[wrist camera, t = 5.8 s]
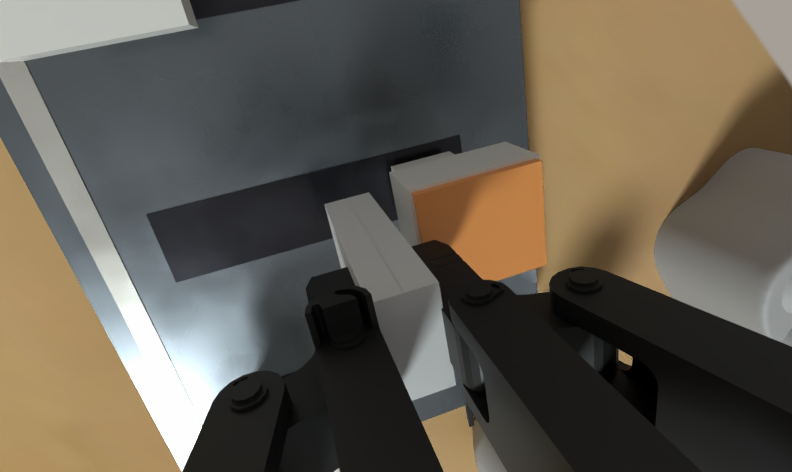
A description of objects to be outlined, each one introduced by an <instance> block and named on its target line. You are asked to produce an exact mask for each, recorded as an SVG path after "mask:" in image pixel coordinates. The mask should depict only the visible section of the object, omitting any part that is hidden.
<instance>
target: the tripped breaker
mask: <svg viewBox="0 0 792 472" xmlns="http://www.w3.org/2000/svg"><path fill="white" fill-rule="evenodd" d="M391 170H392V171H391V172H389V175H390V180H391V185H392V190H393V196H394V201H395V206H396V211H397V216H398V221H399V226H400V231H401V234H402V236H403V237H404V238H405V239H406V241H407V242H408V243H409V245H410V246H411V247H412V246H415V245H418V244H422V243H425V242H429V241H432V240H437V241H440V242H442V243H445V244H448V245H449V246H450V247H451V248H452V249H453V250H454V251H455V252H456V253H457V254H458V255H459V256H460V257H461V258H462V259H463V261H465V262H466V263H467V264H468V265H469V266H470V267H471V268H472V269H473V270H474V271H475V272H476V273H477V274H478V275H479V276H480V277H481V278H482V279H483V280H494V281H498V280H501V279H505V278H508V277H511V276H514V275H517V274H520V273H523V272H526V271H529V270H533V269H536V268H539V267H542V266H545V265H547V255H546V236H545V216H544V196H543V177H542V161H541V160H539V154H537V153H534V152H532V151H529V150H526V149H524V148H521V147H518V146H516V145H513V144H511V143H508V142H502V143H498V144H494V145H490V146H486V147H483V148H479V149H475V150H471V151H467V152H464V153H460V154H456V155H455V154H453V153H451V152H449V151H448V152H444V153H441V154H437V155H433V156H429V157H425V158H421V159H418V160H414V161H410V162H406V163H402V164H398V165H395V166H391Z"/></svg>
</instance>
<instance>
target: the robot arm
mask: <svg viewBox="0 0 792 472" xmlns="http://www.w3.org/2000/svg"><path fill="white" fill-rule="evenodd" d="M324 205H325V209H326V213H327V217H328V220H329V224H330V228H331V232H332V236H333V239H334V243H335V247H336V251H337V254H338V258H339V262H340V266H341V269H338V270H335V271H331V272H328V273H324V274H321V275H318V276H314V277H311V279H310V281H309V283H308V285H307V287H306V293H307V298H308V303H309V304H308V305H307V306H306V308H305V314H304V315H305V318H306V321H307V324H308V327H309V330H310V334H311V337H312V340H313V343H314V346H315V352H314V354H313V356H312V357H311V358H310V360H309V361H308V362H307V363H306V364H305V365H304V366H303V367H301V368H300V369H298V370H297V371H295V372H294V373H292V374H291V375H289V376H287V377H285V378H284V379H283V378H282V377H281V376H280V375H279V374H278V373H275V372H272V371H255V372H252V373H249V374H245V375H243V376H241V377H239V378H237V379H235V380H233V381H232V382H230V383H229V384H228V385H226V386H225V387H224V388H223V389H222V390H221V391H220V392H219V393H218V395H217V396H216V398H215V399H214V401H213V402H212V404H211V407H210V409H209V411H208V413H207V416H206V418H205V420H204V423H203V425H202V427H201V430H200V432H199V434H198V436H197V439H196V441H195V443H194V446H193V448H192V450H191V453H190V455H189V457H188V459H187V462H186V464H185V466H184V469H183V471H182V472H334V471H335V470H337V469H338V468H340V472H443V470H442V467H441V465H440V463H439V461H438V458H437V456H436V454H435V452H434V449H433V447H432V445H431V443H430V440H429V438H428V436H427V434H426V431H425V429H424V427H423V425H422V423H421V420H420V418H419V416H418V414H417V411H416V409H415V407H414V405H413V402H412V401H413V400H416V399H419V398H421V397H424V396H427V395H430V394H433V393H436V392H438V391H441V390H444V389H447V388H450V387H453V386H455V385H456V382H455V376H454V370H453V367H454V369H455V371H456V372H457V374H458V376H459V377H460V379H461V382H462V388H463V395H464V401H465V407H466V413H467V419H468V423H469V426H470V427H471V426H474V419H473V414H474V416H475V418H476V420H477V421H478V423H479V425H480V426H481V428H482V430H483V431H484V433H485V435H486V437H487V438H488V440H489V442H490V443H491V445H492V447H493V448H494V450H495V452H496V454H497V455H498V457H499V459H500V460H501V462H502V464H503V465H504V467H505V469H506V471H507V472H792V347H791V346H789V345H787V344H784V343H782V342H779V341H777V340H774V339H772V338H769V337H767V336H764V335H762V334H759V333H757V332H755V331H752V330H750V329H747V328H745V327H742V326H740V325H737V324H735V323H732V322H730V321H728V320H725V319H723V318H720V317H718V316H715V315H713V314H710V313H708V312H705V311H703V310H700V309H698V308H696V307H693V306H691V305H688V304H686V303H683V302H681V301H678V300H676V299H673V298H671V297H668V296H666V295H664V294H661V293H659V292H656V291H654V290H651V289H649V288H646V287H644V286H641V285H639V284H637V283H634V282H632V281H629V280H627V279H624V278H622V277H619V276H617V275H614V274H612V273H609V272H607V271H604V270H600V269H597V268H589V267H576V268H575V267H574V268H569V269H566V270H563V271H560V272H558V273H557V274H555V275H554V276H553V277H552V278H551V281H550V283H549V286H550V292H545V293H536V294H526V295H516V294H515V293H514V292H513V291H512V290H511V289H510V288H509V287H508V286H506V285H504V284H503V283H501V282H498V281H494V280H483V279H482V278H481V277H480V276H479V275H478V274H477V273H476V272H475V271H474V270H473V269H472V268H471V267H470V266H469V265H468V264H467V263H466V262H465V261H463V259H462V258H461V257H460V256H459V255H458V254H457V253H456V252H455V251H454V250H453V249H452V248H451V247H450V246H449V245H448V244H445V243H442V242H440V241H437V240H432V241H429V242H425V243H422V244H418V245H415V246H412V247H411V246H410V245H409V243H408V242H407V241H406V239H405V238H404V237H403V236H402V234H401V233H400V232H399V230H398V229H397V228H396V227H395V225H394V224H393V223H392V221H391V220H390V219H389V218H388V216H387V215H386V214H385V212H384V211H383V210H382V209H381V207H380V206H379V205H378V204H377V202H376V201H375V200H374V198H373V197H372V196H371V195H370V193H369V192H368V193H364V194H361V195H357V196H353V197H349V198H346V199H342V200H338V201H334V202H331V203H327V204H324ZM618 349H620V350H621V351H623V352H625V353H627V354H629V355H630V356H632V357H633V362H632V366H629V365H627V364H624V363H623V362H621V361H619V360H618Z"/></svg>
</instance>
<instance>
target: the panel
mask: <svg viewBox="0 0 792 472" xmlns="http://www.w3.org/2000/svg"><path fill="white" fill-rule="evenodd" d="M189 1H190V4H191V7H192V10H193V13H194V16H195V19H196V22H197V25H198V28H195V29H190V30H184V31H179V32H174V33H169V34H163V35H158V36H153V37H148V38H142V39H137V40H132V41H127V42H121V43H116V44H111V45H106V46H100V47H95V48H90V49H85V50H79V51H74V52H69V53H64V54H58V55H53V56H48V57H43V58H37V59H32V60H27V61H15V62H1V63H0V137H1V139H2V141H3V143H4V145H5V146H6V148H7V150H8V152H9V154H10V156H11V158H12V159H13V161H14V163H15V165H16V167H17V169H18V170H19V172H20V174H21V176H22V178H23V180H24V181H25V183H26V185H27V187H28V189H29V191H30V193H31V194H32V196H33V198H34V200H35V202H36V204H37V205H38V207H39V209H40V211H41V213H42V215H43V216H44V218H45V220H46V222H47V224H48V226H49V228H50V229H51V231H52V233H53V235H54V237H55V239H56V240H57V242H58V244H59V246H60V248H61V250H62V251H63V253H64V255H65V257H66V259H67V261H68V263H69V264H70V266H71V268H72V270H73V272H74V274H75V275H76V277H77V279H78V281H79V283H80V285H81V286H82V288H83V290H84V292H85V294H86V296H87V298H88V299H89V301H90V303H91V305H92V307H93V309H94V310H95V312H96V314H97V316H98V318H99V320H100V321H101V323H102V325H103V327H104V329H105V331H106V333H107V334H108V336H109V338H110V340H111V342H112V344H113V345H114V347H115V349H116V351H117V353H118V355H119V356H120V358H121V360H122V362H123V364H124V366H125V368H126V369H127V371H128V373H129V375H130V377H131V379H132V380H133V382H134V384H135V386H136V388H137V390H138V392H139V393H140V395H141V397H142V399H143V401H144V403H145V404H146V406H147V408H148V410H149V412H150V414H151V415H152V417H153V419H154V421H155V423H156V425H157V427H158V428H159V430H160V432H161V434H162V436H163V438H164V439H165V441H166V443H167V445H168V447H169V449H170V450H171V452H172V454H173V456H174V458H175V460H176V462H177V463H178V465H179V467H180V469H181V471H183V469H184V466H185V464H186V462H187V459H188V457H189V455H190V453H191V450H192V448H193V446H194V443H195V441H196V439H197V436H198V434H199V432H200V430H201V427H202V425H203V423H204V420H205V418H206V416H207V413H208V411H209V409H210V407H211V404H212V402H213V401H214V399H215V398H216V396H217V395H218V393H219V392H220V391H221V390H222V389H223V388H224V387H225V386H226V385H228V384H229V383H230V382H232V381H233V380H235V379H237V378H239V377H241V376H243V375H245V374H249V373H252V372H255V371H272V372H275V373H278V374H279V375H280V376H281V377H282V378H283V379H284V378H285V377H287V376H289V375H291V374H292V373H294V372H295V371H297V370H298V369H300V368H301V367H303V366H304V365H305V364H306V363H307V362H308V361H309V360H310V358H311V357H312V356H313V354H314V352H315V346H314V343H313V340H312V337H311V334H310V330H309V327H308V324H307V321H306V318H305V315H304V314H305V308H306V306H307V305H308V304H309V303H308V298H307V293H306V287H307V285H308V283H309V281H310V279H311V277H314V276H318V275H321V274H324V273H328V272H331V271H335V270H338V269H341V266H340V262H339V258H338V254H337V251H336V247H335V243H334V239H333V236H332V232H331V228H330V224H329V220H328V217H327V213H326V209H325V205H324V204H327V203H331V202H334V201H338V200H342V199H346V198H349V197H353V196H357V195H361V194H364V193H368V192H369V193H370V195H371V196H372V197H373V198H374V200H375V201H376V202H377V204H378V205H379V206H380V207H381V209H382V210H383V211H384V212H385V214H386V215H387V216H388V218H389V219H390V220H391V221H392V223H393V224H394V225H395V227H396V228H397V229H398V230H399V232H400V233H401V231H400V226H399V221H398V216H397V211H396V206H395V201H394V196H393V190H392V185H391V180H390V175H389V172H391V171H392V170H391V166H395V165H398V164H402V163H406V162H410V161H414V160H418V159H421V158H425V157H429V156H433V155H437V154H441V153H444V152H448V151H449V152H451V153H453V154H455V155H456V154H460V153H464V152H467V151H471V150H475V149H479V148H483V147H486V146H490V145H494V144H498V143H502V142H508V143H511V144H513V145H516V146H518V147H521V148H524V149H526V150H529V146H528V130H527V114H526V98H525V82H524V66H523V50H522V34H521V18H520V2H519V0H189ZM498 282H501V283H503V284H504V285H506V286H508V287H509V288H510V289H511V290H512V291H513V292H514V293H515V294H516V295H526V294H536V293H538V290H537V274H536V269H533V270H529V271H526V272H523V273H520V274H517V275H514V276H511V277H508V278H505V279H501V280H498ZM453 370H454V376H455V382H456V385H455V386H453V387H450V388H447V389H444V390H441V391H438V392H436V393H433V394H430V395H427V396H424V397H421V398H419V399H416V400H413V401H412V402H413V405H414V407H415V409H416V411H417V414H418V416H419V418H420V420H421V422H422V421H424V420H427V419H430V418H432V417H435V416H438V415H440V414H443V413H446V412H449V411H451V410H454V409H457V408H459V407H462V406H465V401H464V395H463V388H462V382H461V379H460V377H459V376H458V374H457V372H456V371H455V369H454V367H453Z"/></svg>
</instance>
